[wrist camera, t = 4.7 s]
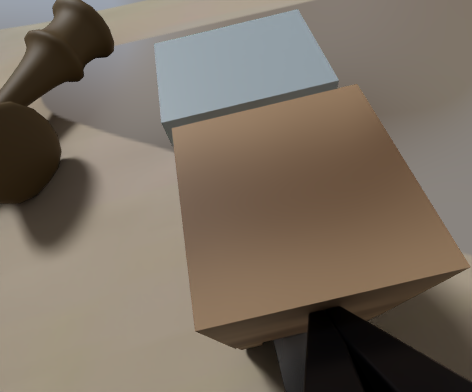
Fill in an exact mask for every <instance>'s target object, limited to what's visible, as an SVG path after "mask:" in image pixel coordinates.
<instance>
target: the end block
mask: <svg viewBox="0 0 472 392" xmlns="http://www.w3.org/2000/svg"><path fill="white" fill-rule="evenodd" d="M154 49H155V59H156V70H157V81H158V91H159V102H160V114H161V123H162V125H163V127H164V129H165V131H166V134H167V136H168V138H169V140H170V142H171V144H172V146H173V148H174V144H173V136H172V128H174V127H179V126H183V125H187V124H191V123H195V122H199V121H204V120H208V119H212V118H216V117H220V116H225V115H229V114H233V113H237V112H241V111H246V110H250V109H254V108H258V107H262V106H266V105H271V104H275V103H279V102H283V101H287V100H292V99H296V98H300V97H304V96H308V95H313V94H317V93H321V92H325V91H329V90H334V89H337V87H338V82H339V80H338V78H337V77H336V75H335V73H334V71H333V70H332V68H331V66H330V65H329V63H328V61H327V59H326V57H325V56H324V54H323V52H322V51H321V49H320V47H319V45H318V44H317V42H316V40H315V38H314V37H313V35H312V33H311V31H310V30H309V28H308V26H307V24H306V23H305V21H304V19H303V18H302V16H301V14H300V12H299V10H298V9H297V10H293V11H289V12H285V13H281V14H276V15H272V16H268V17H264V18H260V19H255V20H251V21H247V22H243V23H239V24H235V25H230V26H226V27H222V28H218V29H214V30H210V31H206V32H201V33H197V34H193V35H189V36H185V37H181V38H177V39H173V40H169V41H164V42H160V43H156V44H154Z"/></svg>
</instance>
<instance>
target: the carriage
mask: <svg viewBox="0 0 472 392" xmlns="http://www.w3.org/2000/svg"><path fill="white" fill-rule="evenodd" d="M172 136H173V144H174V153H175V162H176V170H177V179H178V188H179V196H180V205H181V214H182V222H183V231H184V239H185V248H186V257H187V265H188V274H189V283H190V291H191V300H192V308H193V317H194V326H195V331H196V332H198V333H200V334H203V335H205V336H207V337H210V338H212V339H214V340H217V341H219V342H221V343H223V344H226V345H228V346H230V347H233V348H235V349H236V348H239V349H241V350H243V349H247V348H252V347H256V346H260V345H263V342H266V341H271V340H275V339H279V338H283V337H288V336H292V335H296V334H301V333H305V332H307V330H308V315H309V313H312V312H316V311H320V310H323V311H325V310H326V309H329V308H333V307H338V306H341V307H343V308H345V309H346V310H348V311H350V312H352V313H353V314H355V315H357V316H358V317H360V318H362V319H364V320H365V321H368V320H370V319H372V318H373V317H375V316H378V315H380V314H382V313H384V312H386V311H388V310H390V309H392V308H394V307H396V306H398V305H399V304H401V303H403V302H405V301H407V300H409V299H411V298H413V297H415V296H417V295H418V294H420V293H422V292H424V291H426V290H428V289H430V288H432V287H434V286H436V285H437V284H439V283H441V282H443V281H445V280H447V279H449V278H451V277H453V276H455V275H456V274H458V273H460V272H462V271H464V270H466V269H468V268H470V265H469V264H468V262H467V261H466V259H465V257H464V256H463V254H462V252H461V251H460V249H459V248H458V246H457V244H456V243H455V241H454V240H453V238H452V236H451V235H450V233H449V231H448V230H447V228H446V227H445V225H444V224H443V222H442V220H441V219H440V217H439V215H438V214H437V212H436V211H435V209H434V207H433V206H432V204H431V203H430V201H429V199H428V198H427V196H426V194H425V193H424V191H423V190H422V188H421V186H420V185H419V183H418V181H417V180H416V178H415V177H414V175H413V173H412V172H411V170H410V169H409V167H408V165H407V164H406V162H405V161H404V159H403V157H402V156H401V154H400V152H399V151H398V149H397V148H396V146H395V144H394V143H393V141H392V139H391V138H390V136H389V135H388V133H387V131H386V130H385V128H384V127H383V125H382V124H381V122H380V120H379V118H378V117H377V115H376V114H375V112H374V110H373V109H372V107H371V106H370V104H369V103H368V101H367V99H366V97H365V96H364V94H363V93H362V91H361V89H360V88H359V86H358V85H357V84H354V85H350V86H346V87H342V88H338V89H334V90H329V91H325V92H321V93H317V94H313V95H308V96H304V97H300V98H296V99H292V100H287V101H283V102H279V103H275V104H271V105H266V106H262V107H258V108H254V109H250V110H246V111H241V112H237V113H233V114H229V115H225V116H220V117H216V118H212V119H208V120H204V121H199V122H195V123H191V124H187V125H183V126H179V127H174V128H172Z"/></svg>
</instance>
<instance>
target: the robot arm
mask: <svg viewBox="0 0 472 392" xmlns="http://www.w3.org/2000/svg"><path fill="white" fill-rule="evenodd" d="M303 392H472V382H471V381H469V380H467V379H466V378H464V377H462V376H461V375H459V374H457V373H455V372H454V371H452V370H450V369H448V368H447V367H445V366H443V365H441V364H440V363H438V362H436V361H435V360H433V359H431V358H429V357H428V356H426V355H424V354H422V353H421V352H419V351H417V350H416V349H414V348H412V347H410V346H409V345H407V344H405V343H403V342H402V341H400V340H398V339H397V338H395V337H393V336H391V335H390V334H388V333H386V332H384V331H383V330H381V329H379V328H378V327H376V326H374V325H372V324H371V323H369V322H367V321H365V320H364V319H362V318H360V317H358V316H357V315H355V314H353V313H352V312H350V311H348V310H346V309H345V308H343V307H341V306H338V307H333V308H329V309H326V310H325V311H323V310H320V311H316V312H312V313H309V315H308V330H307V345H306V360H305V376H304V391H303Z"/></svg>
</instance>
